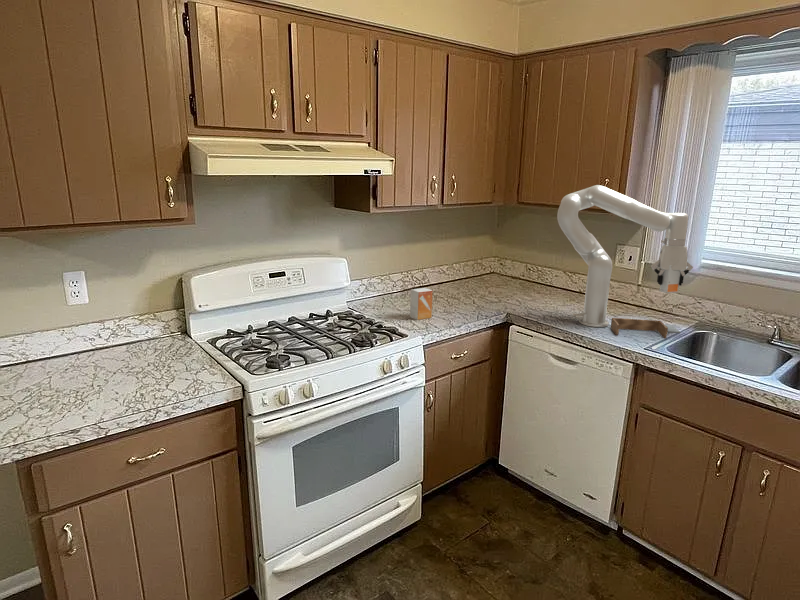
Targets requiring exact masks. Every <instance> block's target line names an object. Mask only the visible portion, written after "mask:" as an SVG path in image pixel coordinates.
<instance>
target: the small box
mask: <svg viewBox="0 0 800 600" xmlns="http://www.w3.org/2000/svg"><path fill="white" fill-rule="evenodd" d="M433 292H434V291H433V290H432V289H430V288H427V287H420V288H414V289H413V288H412V289H410V301H409V302H410V303H409V305H410V307H409V317H410V318H411V319H414V320H417V321H421V320H426V319H432V315H433Z"/></svg>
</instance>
